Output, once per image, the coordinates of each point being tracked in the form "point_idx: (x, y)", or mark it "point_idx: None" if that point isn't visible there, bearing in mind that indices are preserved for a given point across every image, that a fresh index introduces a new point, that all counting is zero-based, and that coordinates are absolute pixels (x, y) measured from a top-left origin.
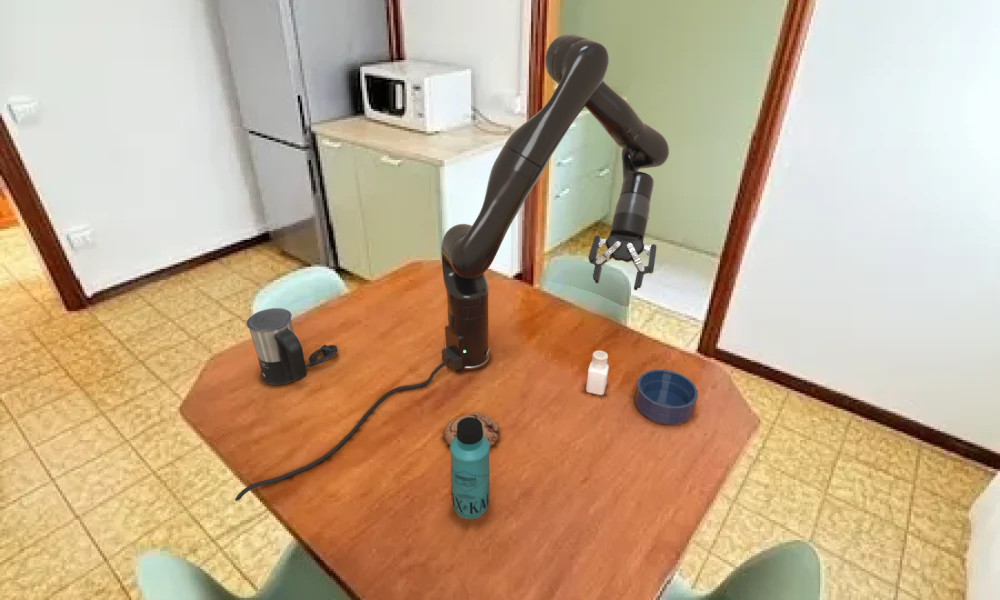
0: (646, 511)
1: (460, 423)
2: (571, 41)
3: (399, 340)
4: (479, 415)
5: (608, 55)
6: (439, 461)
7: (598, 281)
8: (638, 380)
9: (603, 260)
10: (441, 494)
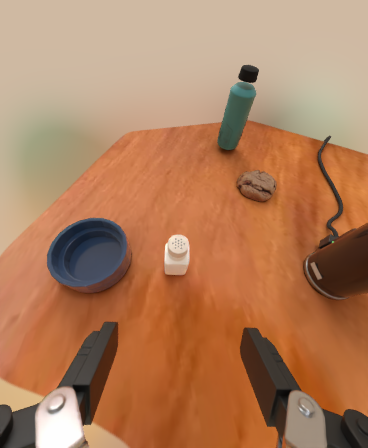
0: (127, 161)
1: (256, 68)
2: None
3: None
4: (261, 193)
5: None
6: (260, 168)
7: (243, 343)
8: (125, 252)
9: (288, 422)
10: (245, 152)
